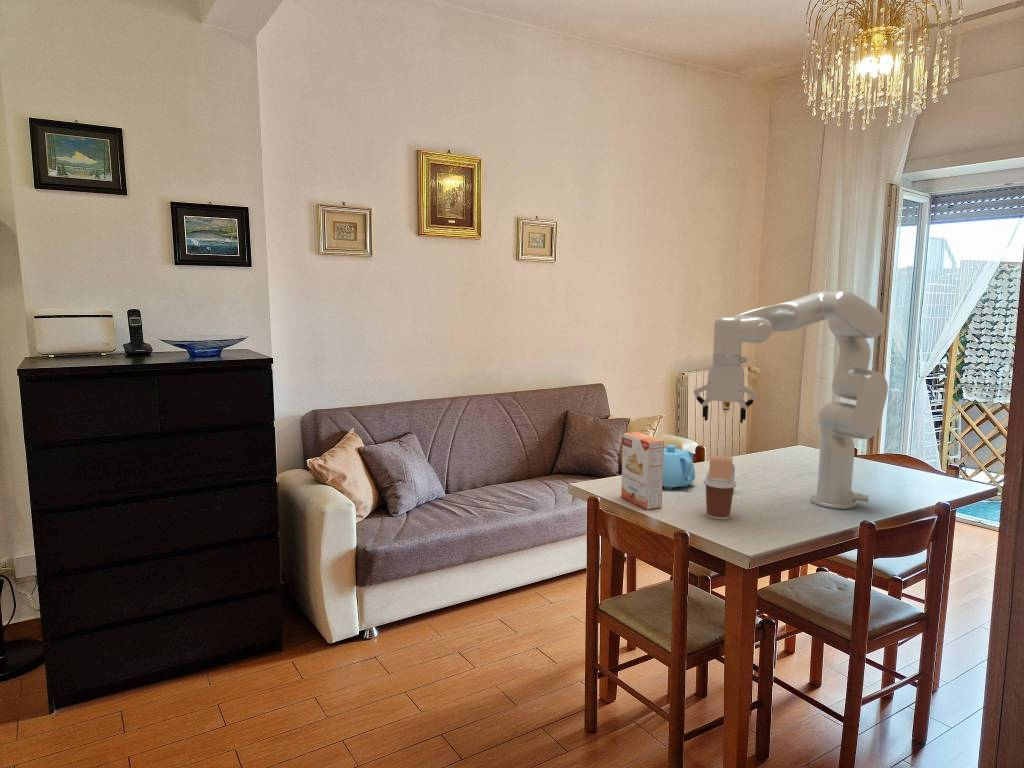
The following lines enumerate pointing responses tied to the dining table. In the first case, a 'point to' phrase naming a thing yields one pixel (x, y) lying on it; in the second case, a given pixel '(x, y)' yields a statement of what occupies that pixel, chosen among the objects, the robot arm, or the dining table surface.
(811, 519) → the dining table surface
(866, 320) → the robot arm
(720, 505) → the coffee cup
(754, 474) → the dining table surface
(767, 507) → the dining table surface
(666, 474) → the decorative pot
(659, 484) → the cracker box
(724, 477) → the stacking block
